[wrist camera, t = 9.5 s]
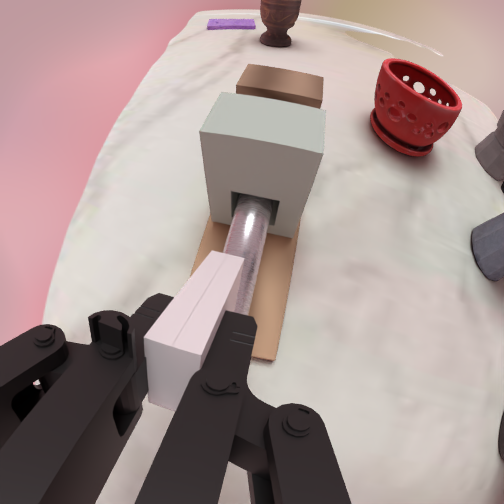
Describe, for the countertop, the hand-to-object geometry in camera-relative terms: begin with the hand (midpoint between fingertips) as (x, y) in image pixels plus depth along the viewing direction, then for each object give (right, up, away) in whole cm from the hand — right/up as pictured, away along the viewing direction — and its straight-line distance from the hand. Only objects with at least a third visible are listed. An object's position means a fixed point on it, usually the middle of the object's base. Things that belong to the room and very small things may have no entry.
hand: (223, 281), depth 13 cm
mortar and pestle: (+8, +50, +38) cm, 63 cm away
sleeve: (+2, +6, +15) cm, 16 cm away
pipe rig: (+2, +4, +17) cm, 17 cm away
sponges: (-4, +62, +44) cm, 76 cm away
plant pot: (+25, +20, +26) cm, 41 cm away
